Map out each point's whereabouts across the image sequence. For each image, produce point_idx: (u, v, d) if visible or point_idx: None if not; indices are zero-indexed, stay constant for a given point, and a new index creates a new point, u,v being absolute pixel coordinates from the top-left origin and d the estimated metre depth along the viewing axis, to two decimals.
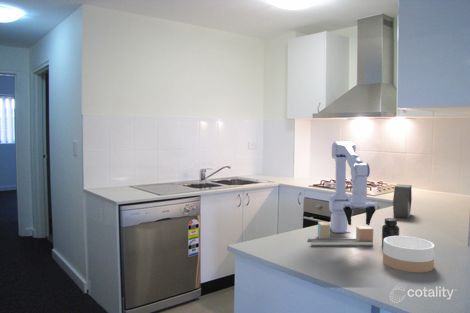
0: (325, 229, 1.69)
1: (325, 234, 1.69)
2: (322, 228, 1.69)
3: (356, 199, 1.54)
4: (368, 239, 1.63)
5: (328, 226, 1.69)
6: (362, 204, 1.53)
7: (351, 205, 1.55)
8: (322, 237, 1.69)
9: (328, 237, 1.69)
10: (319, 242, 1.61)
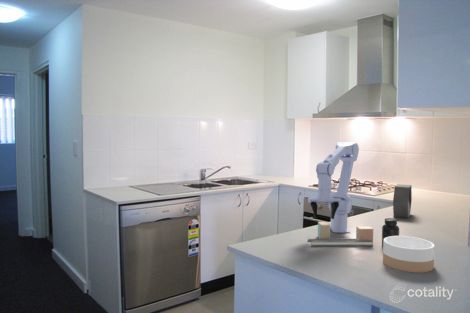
0: (325, 229, 1.69)
1: (325, 234, 1.69)
2: (322, 228, 1.69)
3: (321, 195, 1.69)
4: (368, 239, 1.63)
5: (328, 226, 1.69)
6: (326, 199, 1.68)
7: (317, 200, 1.69)
8: (322, 237, 1.69)
9: (328, 237, 1.69)
10: (319, 242, 1.61)
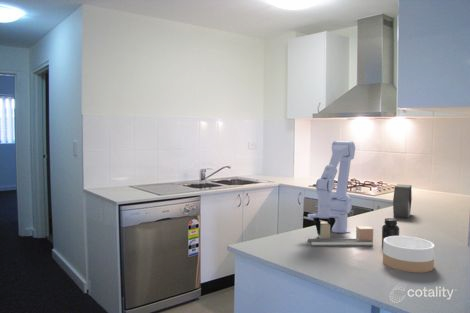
0: (325, 229, 1.69)
1: (325, 234, 1.69)
2: (322, 228, 1.69)
3: (320, 211, 1.69)
4: (368, 239, 1.63)
5: (328, 226, 1.69)
6: (326, 216, 1.68)
7: (316, 216, 1.70)
8: (322, 237, 1.69)
9: (328, 237, 1.69)
10: (319, 242, 1.61)
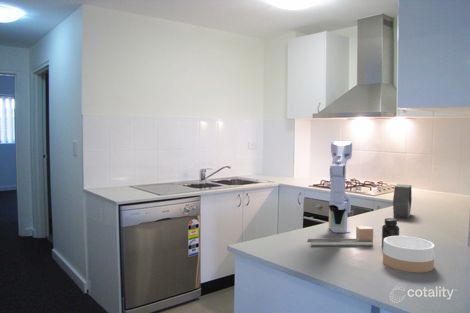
0: None
1: None
2: None
3: (343, 198, 1.62)
4: (368, 239, 1.63)
5: None
6: (344, 202, 1.64)
7: (343, 205, 1.60)
8: None
9: None
10: (319, 242, 1.61)
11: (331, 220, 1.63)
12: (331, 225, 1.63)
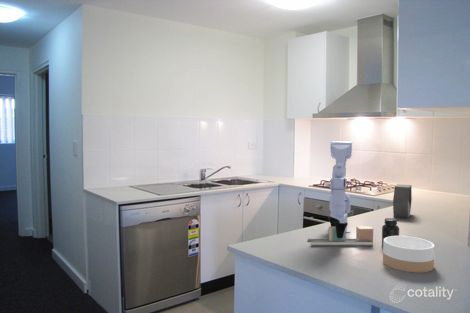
0: None
1: None
2: None
3: (343, 211, 1.62)
4: (368, 239, 1.63)
5: None
6: (345, 214, 1.64)
7: None
8: None
9: None
10: (319, 242, 1.61)
11: (332, 236, 1.63)
12: None
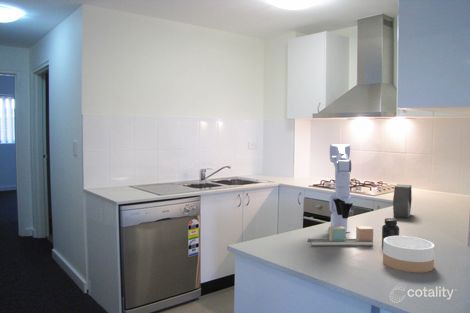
0: None
1: None
2: None
3: (348, 193, 1.68)
4: (368, 239, 1.63)
5: None
6: (350, 196, 1.70)
7: (349, 199, 1.66)
8: None
9: None
10: (319, 242, 1.61)
11: (332, 236, 1.63)
12: None
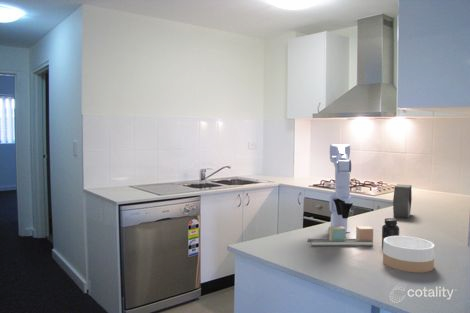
0: None
1: None
2: None
3: (348, 193, 1.68)
4: (368, 239, 1.63)
5: None
6: (350, 196, 1.70)
7: (349, 199, 1.66)
8: None
9: None
10: (319, 242, 1.61)
11: (332, 236, 1.63)
12: None
